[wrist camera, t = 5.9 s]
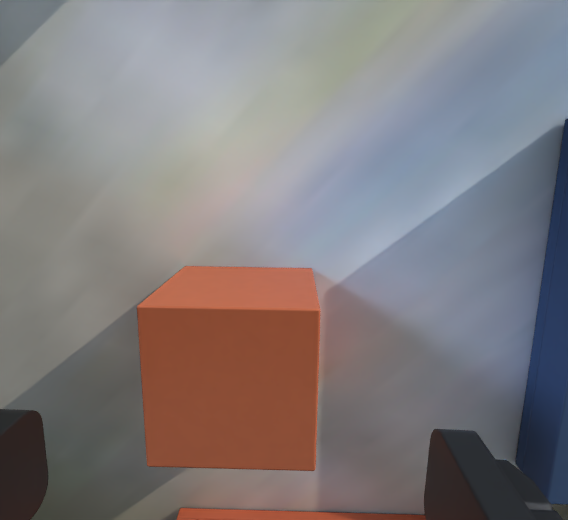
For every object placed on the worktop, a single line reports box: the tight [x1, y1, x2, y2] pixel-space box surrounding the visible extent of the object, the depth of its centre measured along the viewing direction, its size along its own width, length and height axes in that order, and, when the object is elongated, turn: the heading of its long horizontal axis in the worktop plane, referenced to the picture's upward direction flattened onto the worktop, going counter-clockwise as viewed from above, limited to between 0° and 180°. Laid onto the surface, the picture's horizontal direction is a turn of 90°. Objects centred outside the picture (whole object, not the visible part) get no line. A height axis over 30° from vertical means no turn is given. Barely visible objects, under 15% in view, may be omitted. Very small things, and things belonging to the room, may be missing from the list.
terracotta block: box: [137, 266, 320, 471], centre depth 13 cm, size 4×4×4 cm
